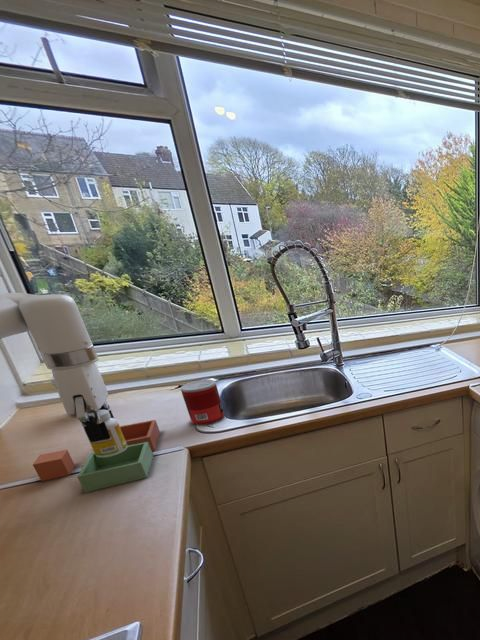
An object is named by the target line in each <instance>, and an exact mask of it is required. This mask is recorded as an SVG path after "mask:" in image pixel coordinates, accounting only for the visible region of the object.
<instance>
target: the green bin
mask: <svg viewBox="0 0 480 640" xmlns="http://www.w3.org/2000/svg"><path fill="white" fill-rule="evenodd" d="M153 458H154V454H153V451H151V448H150V446H149V443H148V442H144V443H139V444H134V445H129V446H128V447H127V449H126V450H125V451H123V452H122V453H120V454H117V455H114V456H110V457H97V456H96V455H95V453H94V452H90V453H89V455H88V456H87V459H86V460H85V461H84V464H83V465H82V468H81V469H80V471H79V473H78V474H77V476H76V477H77V480H78V482H79V484H80V486H81V488H82V490H83V492H84V493H88V492H92V491H97V490H102V489H105V488H109V487H113V486H114V487H115V486H117V485H122V484H125V483H130V482H134V481H138V480H142V479H146V478H148V475H149V471H150V468H151V465H152V462H153Z"/></svg>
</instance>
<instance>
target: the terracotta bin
mask: <svg viewBox="0 0 480 640" xmlns="http://www.w3.org/2000/svg"><path fill="white" fill-rule="evenodd" d="M119 426H120V429H121V431H122V434H123V436H124V438H125V441H126V443H127V446H129V445H134V444H139V443H144V442H148V443H149V446H150V448H151V451H152V452H155V451H156V448H157V445H158V441H159V439H160V436H161V430H160V428H159V425H158V423H157V420H156V419H152V420H146V421H141V422H135V423H129V424H125V425H119Z"/></svg>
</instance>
